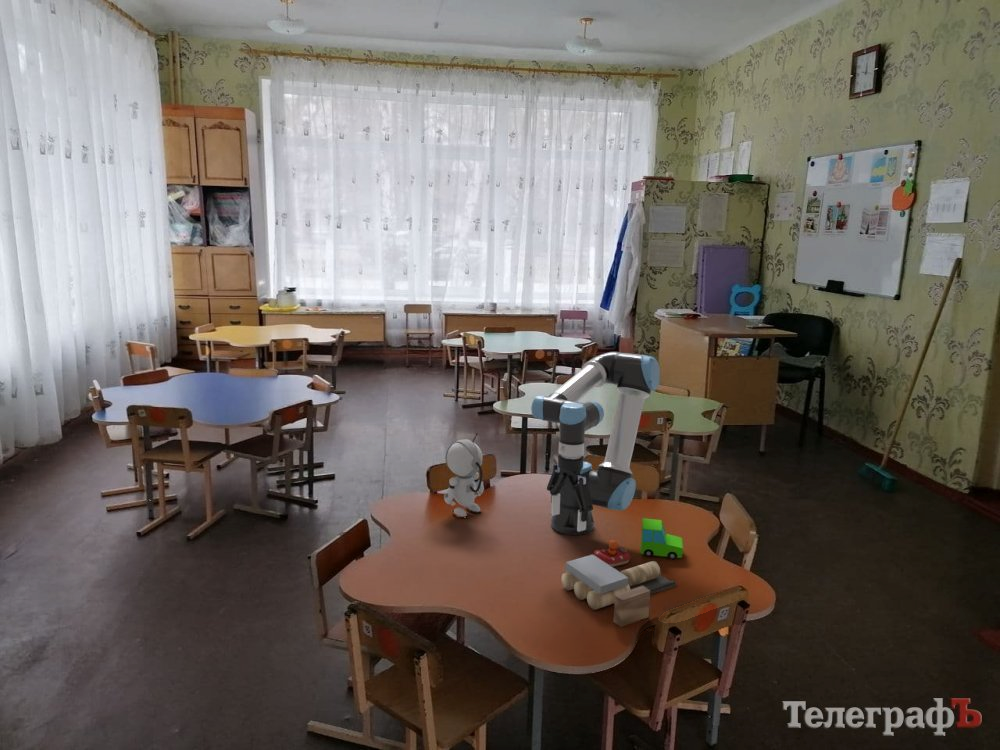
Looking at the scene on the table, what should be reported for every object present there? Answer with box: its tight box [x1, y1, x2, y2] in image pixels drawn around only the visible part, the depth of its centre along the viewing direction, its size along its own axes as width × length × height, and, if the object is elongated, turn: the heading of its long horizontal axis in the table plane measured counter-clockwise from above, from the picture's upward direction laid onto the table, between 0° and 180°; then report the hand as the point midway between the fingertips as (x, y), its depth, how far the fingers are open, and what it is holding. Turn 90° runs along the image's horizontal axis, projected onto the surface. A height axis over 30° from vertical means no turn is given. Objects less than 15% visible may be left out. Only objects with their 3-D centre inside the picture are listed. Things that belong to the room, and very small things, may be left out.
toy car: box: [640, 518, 684, 561], centre depth 231 cm, size 10×13×10 cm
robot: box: [443, 432, 484, 517], centre depth 258 cm, size 14×13×29 cm
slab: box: [565, 553, 628, 595], centre depth 205 cm, size 16×10×2 cm, turn 32°
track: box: [561, 571, 677, 628], centre depth 206 cm, size 26×30×8 cm
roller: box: [620, 560, 661, 587], centre depth 212 cm, size 12×5×5 cm, turn 122°
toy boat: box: [593, 539, 631, 568], centre depth 224 cm, size 8×12×8 cm, turn 115°
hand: (568, 522), depth 215 cm, fingers open, 12 cm apart
